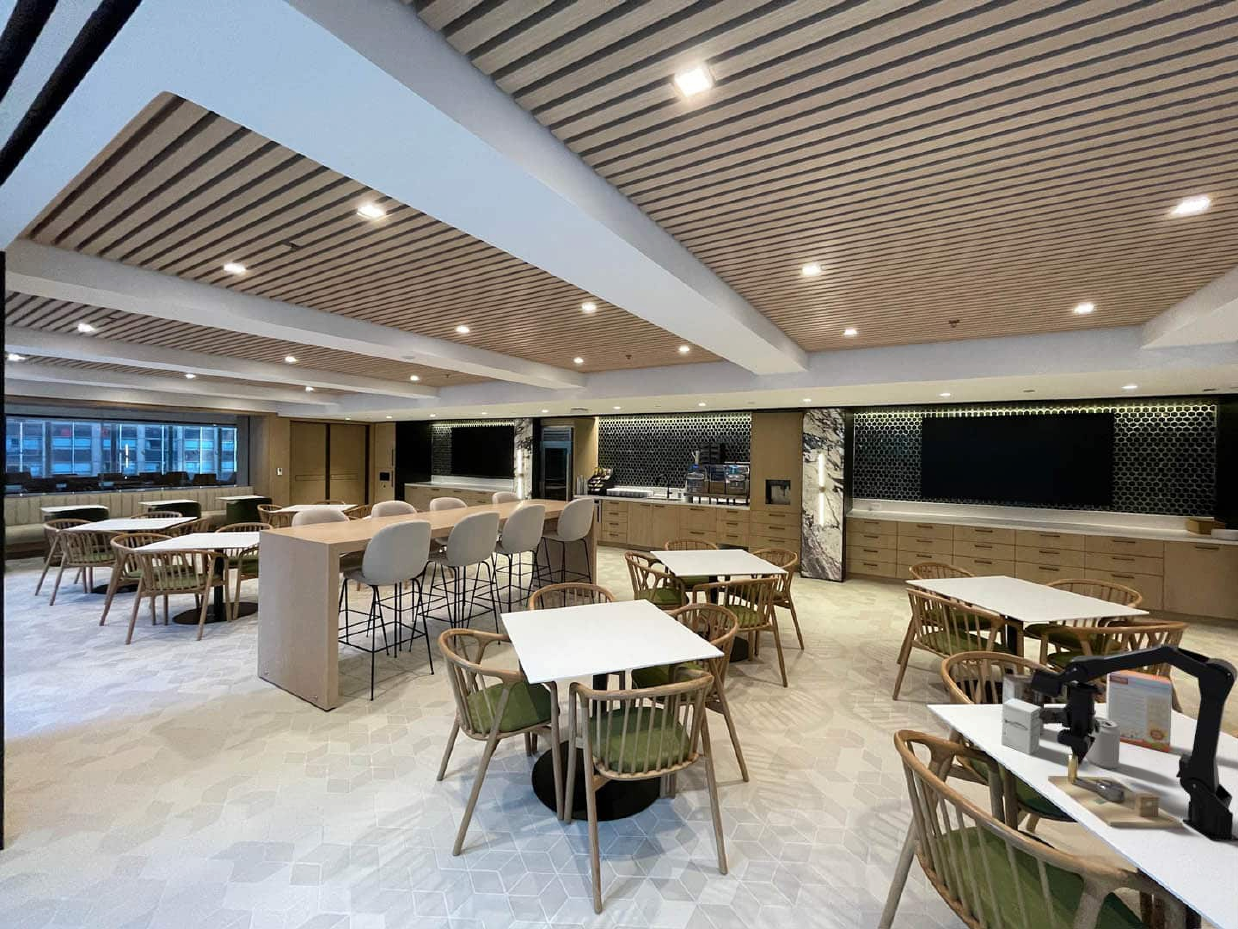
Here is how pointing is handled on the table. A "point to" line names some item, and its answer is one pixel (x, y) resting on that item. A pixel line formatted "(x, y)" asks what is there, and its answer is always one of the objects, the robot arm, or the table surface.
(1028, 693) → the coffee box
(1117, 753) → the can
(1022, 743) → the supplement box
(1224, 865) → the table surface
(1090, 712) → the robot arm
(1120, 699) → the cracker box
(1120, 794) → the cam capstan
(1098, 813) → the stand
